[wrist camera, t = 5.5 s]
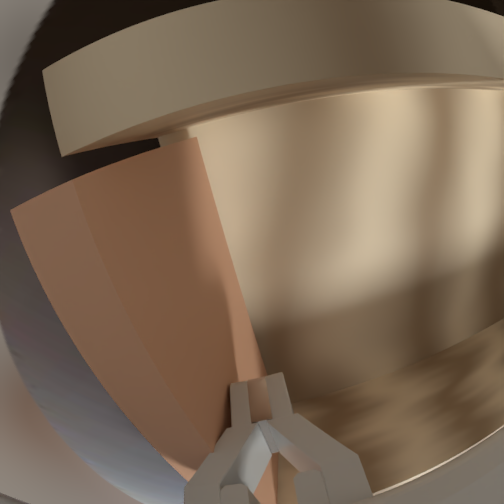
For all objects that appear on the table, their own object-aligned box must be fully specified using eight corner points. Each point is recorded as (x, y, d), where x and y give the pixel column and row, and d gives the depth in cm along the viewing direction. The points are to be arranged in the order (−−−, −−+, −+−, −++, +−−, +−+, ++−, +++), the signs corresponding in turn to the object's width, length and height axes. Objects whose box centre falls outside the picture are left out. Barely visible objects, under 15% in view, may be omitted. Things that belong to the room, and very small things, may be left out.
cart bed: (524, 73, 11) (624, 84, 3) (516, 307, 18) (577, 365, 10) (156, 102, 11) (42, 70, 3) (258, 407, 18) (274, 525, 10)
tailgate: (196, 136, 10) (71, 179, 3) (279, 411, 15) (276, 526, 9) (157, 148, 10) (9, 210, 4) (252, 413, 16) (242, 526, 9)
